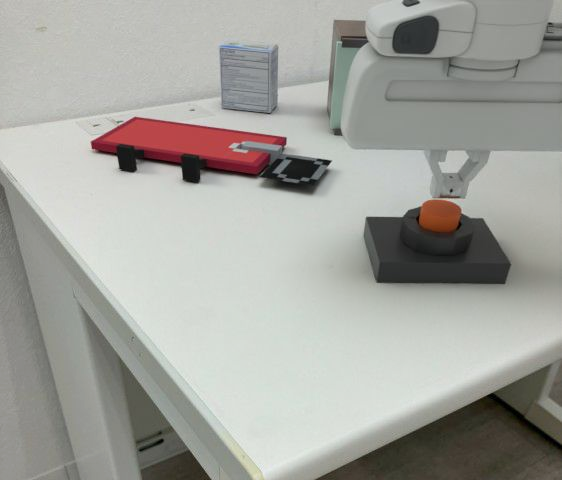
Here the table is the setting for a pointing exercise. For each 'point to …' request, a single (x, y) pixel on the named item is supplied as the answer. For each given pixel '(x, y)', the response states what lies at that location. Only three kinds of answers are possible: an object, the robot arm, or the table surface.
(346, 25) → the cabinet
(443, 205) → the orange button
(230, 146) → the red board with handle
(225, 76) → the medicine box
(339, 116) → the sliding door
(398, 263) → the button block
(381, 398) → the table surface
